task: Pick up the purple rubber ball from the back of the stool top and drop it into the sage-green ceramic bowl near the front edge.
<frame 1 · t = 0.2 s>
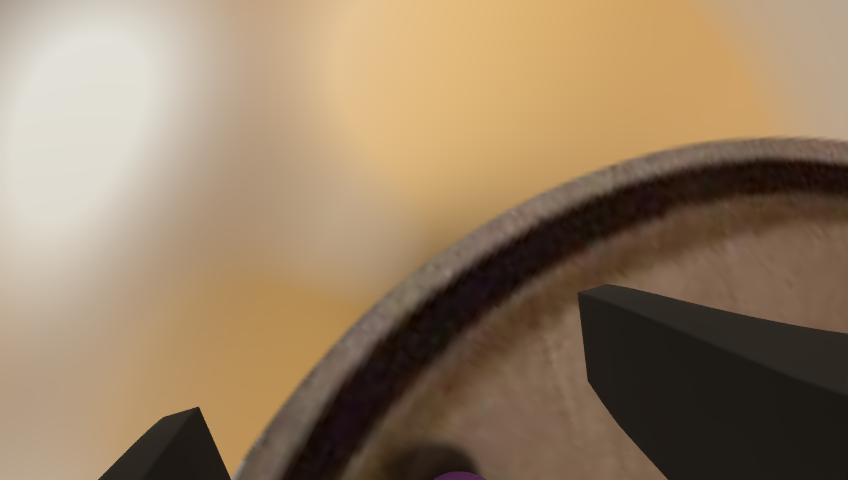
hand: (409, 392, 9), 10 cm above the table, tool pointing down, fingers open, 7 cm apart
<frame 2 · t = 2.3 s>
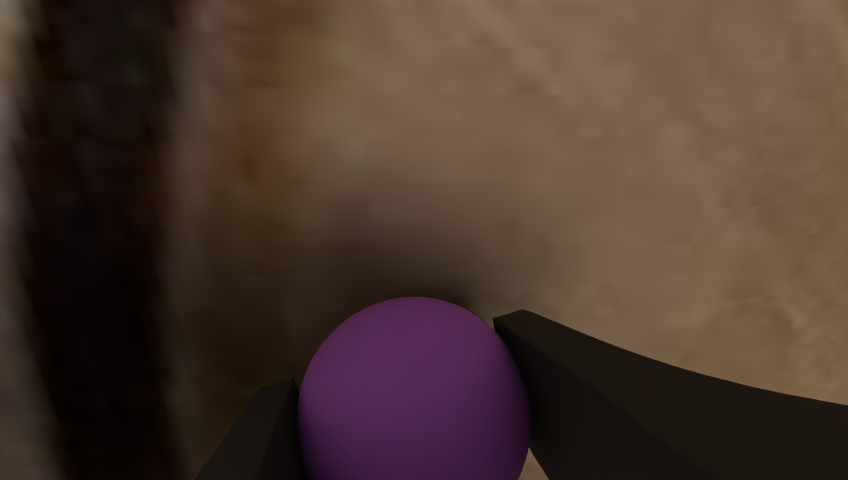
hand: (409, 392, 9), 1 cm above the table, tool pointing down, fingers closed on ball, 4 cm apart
ball: (414, 412, 9), point 2 cm above the table, touching gripper
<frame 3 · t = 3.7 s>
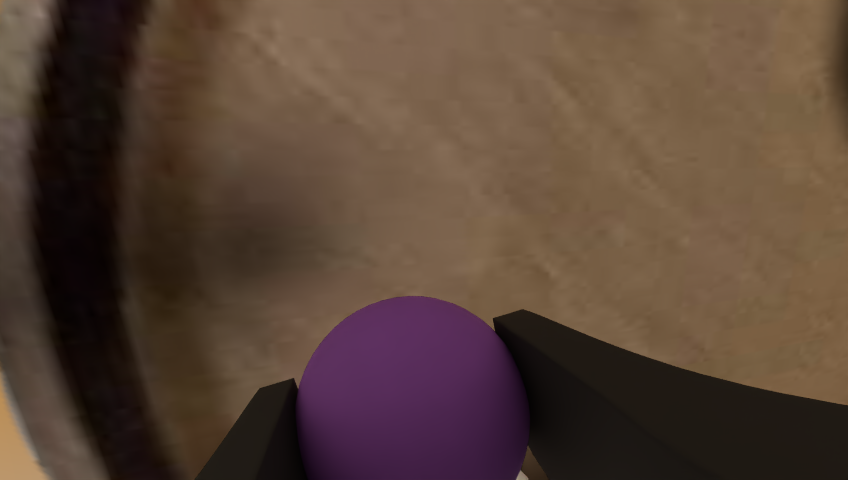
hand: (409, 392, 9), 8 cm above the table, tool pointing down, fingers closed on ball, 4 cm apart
ball: (412, 411, 9), point 9 cm above the table, touching gripper
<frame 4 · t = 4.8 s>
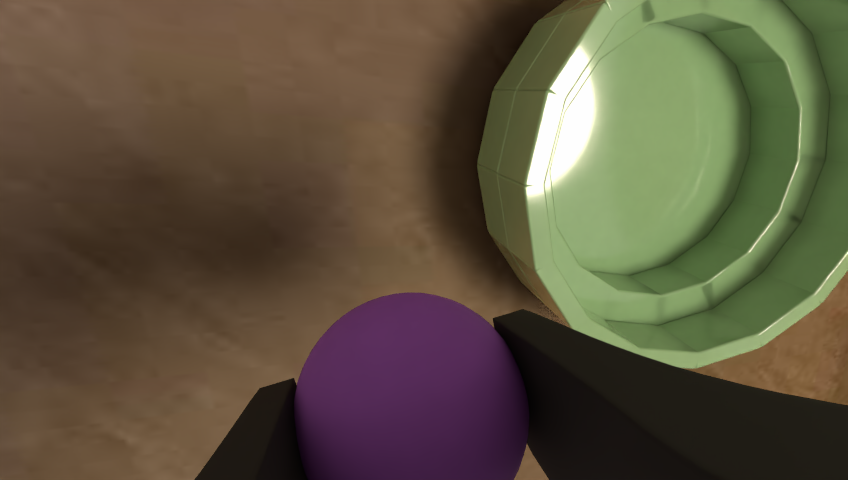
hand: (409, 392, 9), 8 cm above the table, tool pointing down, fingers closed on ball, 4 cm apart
ball: (411, 408, 9), point 9 cm above the table, touching gripper
bowl: (633, 156, 18), on the table
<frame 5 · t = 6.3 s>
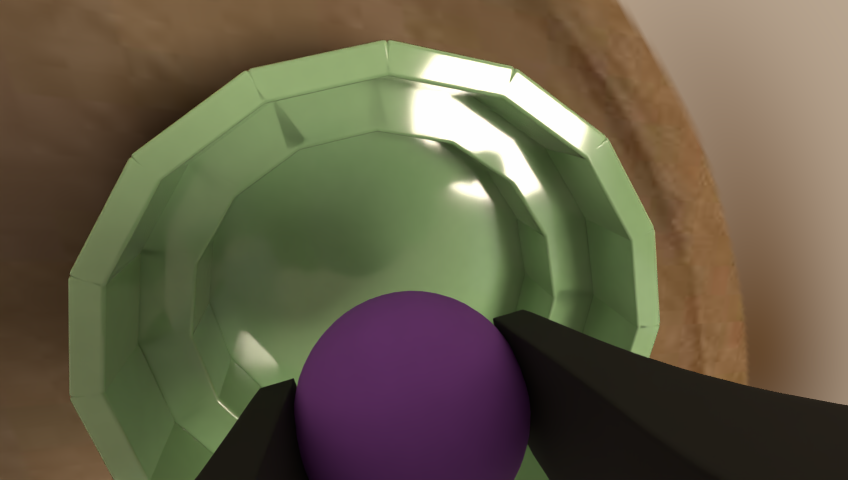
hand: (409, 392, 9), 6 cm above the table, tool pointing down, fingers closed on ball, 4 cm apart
ball: (412, 406, 9), point 6 cm above the table, touching gripper
bowl: (374, 279, 15), on the table
when the fingers open (3 cm above the table, at t = 7.6 s): ball stays where it is, resting on bowl.
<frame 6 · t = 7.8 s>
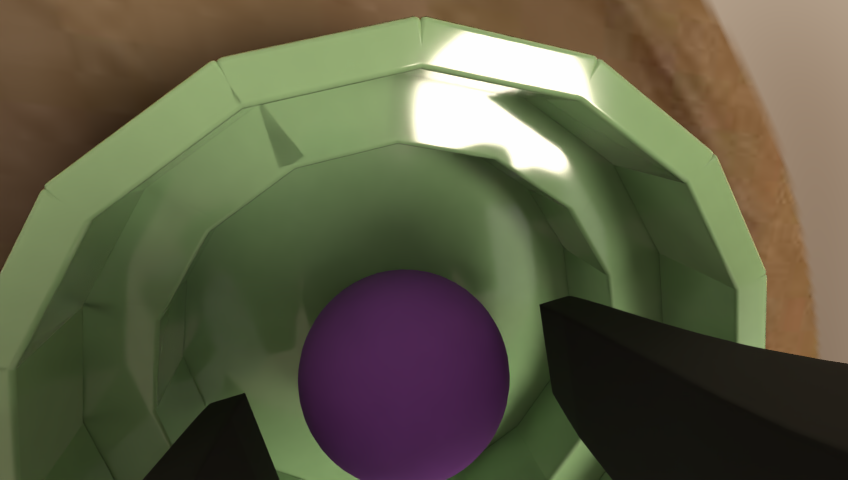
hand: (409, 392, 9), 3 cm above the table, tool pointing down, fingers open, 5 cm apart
ball: (404, 373, 10), point 2 cm above the table, touching bowl
bowl: (388, 321, 12), on the table
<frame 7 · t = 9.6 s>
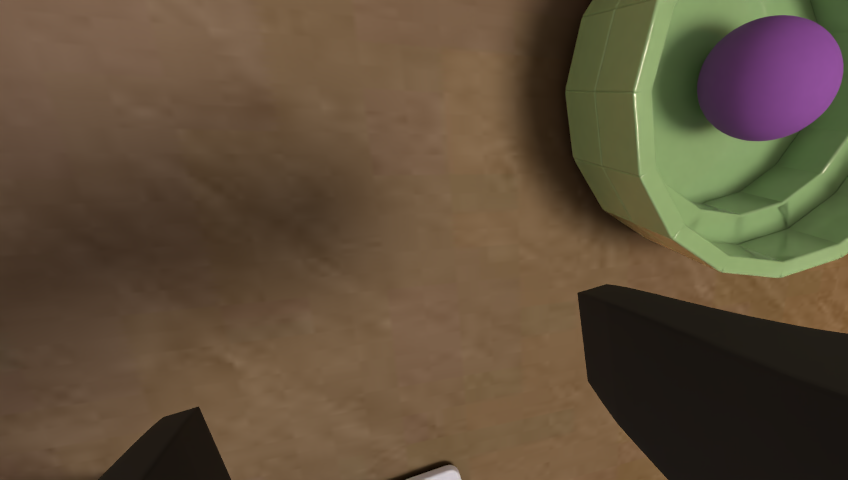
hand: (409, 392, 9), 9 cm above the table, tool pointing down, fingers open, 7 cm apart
ball: (765, 80, 17), point 2 cm above the table, touching bowl
bowl: (707, 85, 19), on the table
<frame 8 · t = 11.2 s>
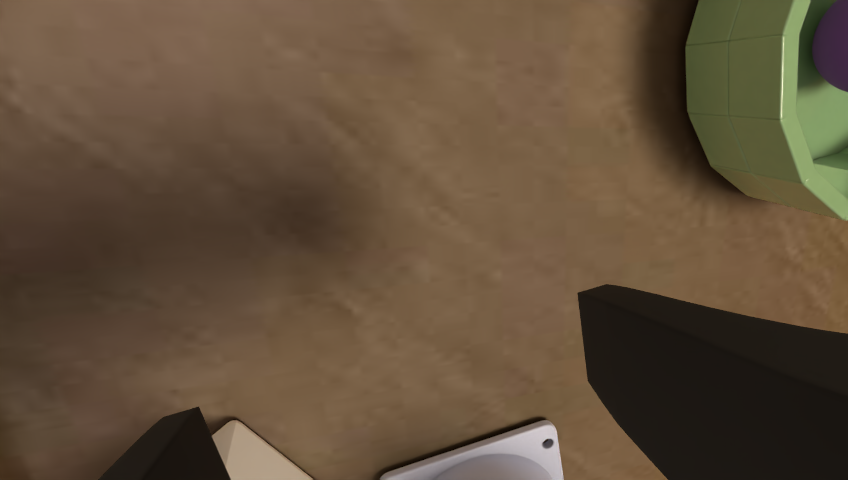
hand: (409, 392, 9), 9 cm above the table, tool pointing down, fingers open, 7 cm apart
bowl: (813, 46, 19), on the table
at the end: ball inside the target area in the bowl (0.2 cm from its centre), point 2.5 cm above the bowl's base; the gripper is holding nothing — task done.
